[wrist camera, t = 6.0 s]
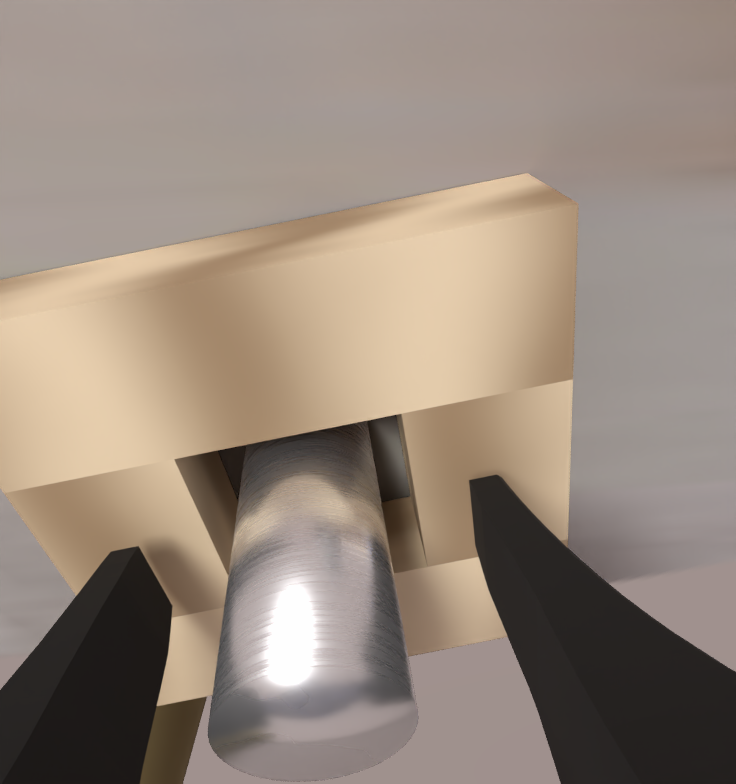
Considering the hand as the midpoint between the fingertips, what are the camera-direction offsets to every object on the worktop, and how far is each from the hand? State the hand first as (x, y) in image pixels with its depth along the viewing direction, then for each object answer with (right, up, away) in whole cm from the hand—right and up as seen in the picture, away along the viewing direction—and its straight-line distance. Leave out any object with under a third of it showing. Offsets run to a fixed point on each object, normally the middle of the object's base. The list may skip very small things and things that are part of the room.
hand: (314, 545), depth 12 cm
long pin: (0, +2, +3) cm, 3 cm away
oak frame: (0, +2, +3) cm, 3 cm away
